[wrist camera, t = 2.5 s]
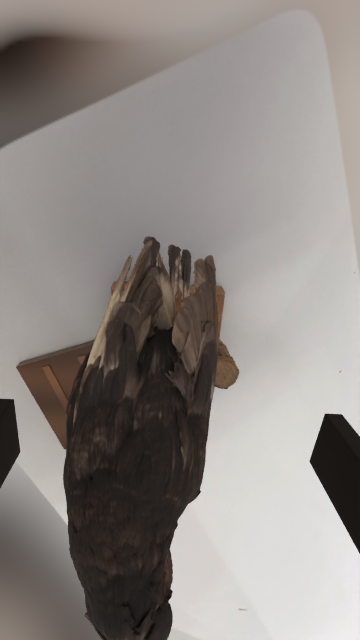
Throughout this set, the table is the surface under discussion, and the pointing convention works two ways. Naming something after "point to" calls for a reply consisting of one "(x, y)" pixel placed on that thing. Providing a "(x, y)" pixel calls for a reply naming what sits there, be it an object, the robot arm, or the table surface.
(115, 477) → the bird figurine
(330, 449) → the robot arm
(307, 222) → the table surface
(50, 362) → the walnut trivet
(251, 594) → the table surface
